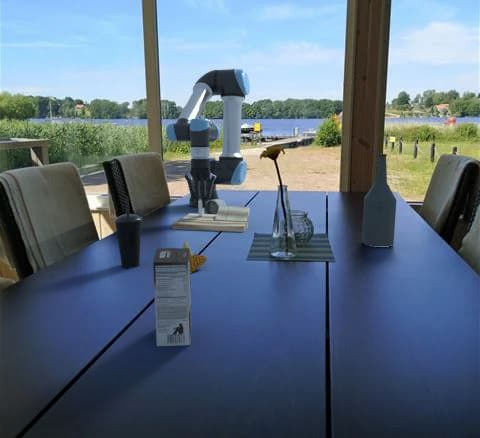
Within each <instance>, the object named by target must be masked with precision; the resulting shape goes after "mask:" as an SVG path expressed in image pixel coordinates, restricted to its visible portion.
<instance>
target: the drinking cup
mask: <svg viewBox="0 0 480 438" xmlns="http://www.w3.org/2000/svg"><path fill="white" fill-rule="evenodd" d="M129 205H130V203H129V196H128V195H126V196H125V208H126V209H125V210H126V213H125V214H122V215H118V216H117V217H116V218H114V219H113V222H114V223H115V230H116V235H117V236H116V237H117V242H118V250H119V255H120V262H121V267H122V268H125V269H133V268H137V267H139V266H140V259H141V255H140V254H141V238H142V237H141V236H142V235H141V233H142V221H143V217H142V216H139V215H137V214H133V213H130V206H129Z"/></svg>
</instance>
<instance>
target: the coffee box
mask: <svg viewBox="0 0 480 438" xmlns="http://www.w3.org/2000/svg"><path fill="white" fill-rule="evenodd" d="M152 265H153V266H152V267H153V270H152V271H153V283H154V284H153V288H154V289H153V291H154V309H155V310H154V312H155V313H154V314H155V316H154V317H155V334H156V335H155V338H156V339H155V340H156V347H173V346H174V347H175V346H176V347H178V346H191V345H192V343H191V342H192V298H191V296H192V293H191V292H192V291H191V290H192V289H191V283H192V282H191V273H190V254H189V248H184V247H182V248H179V247H160V248H156V252H155V254H154V258H153V262H152Z"/></svg>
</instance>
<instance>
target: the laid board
mask: <svg viewBox="0 0 480 438" xmlns="http://www.w3.org/2000/svg"><path fill="white" fill-rule="evenodd" d="M171 227H172V230H189V231H210V232H211V231H215V232H236V233H238V232H239V233H244V232H245V231H246V230H247V229H248V228H249V221H248V220H247V221H223V220H198V219H183V218H179V219H177V220H176V221H174V222H172V225H171Z"/></svg>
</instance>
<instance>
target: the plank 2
mask: <svg viewBox="0 0 480 438" xmlns="http://www.w3.org/2000/svg"><path fill="white" fill-rule="evenodd" d="M250 211H251V208H250V206H241V205H240V206H239V205H238V206H237V205H236V206H235V205H227V206H219V209H218V212H217V215H216V218H215V220H223V221H248V220H249V215H250Z"/></svg>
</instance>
